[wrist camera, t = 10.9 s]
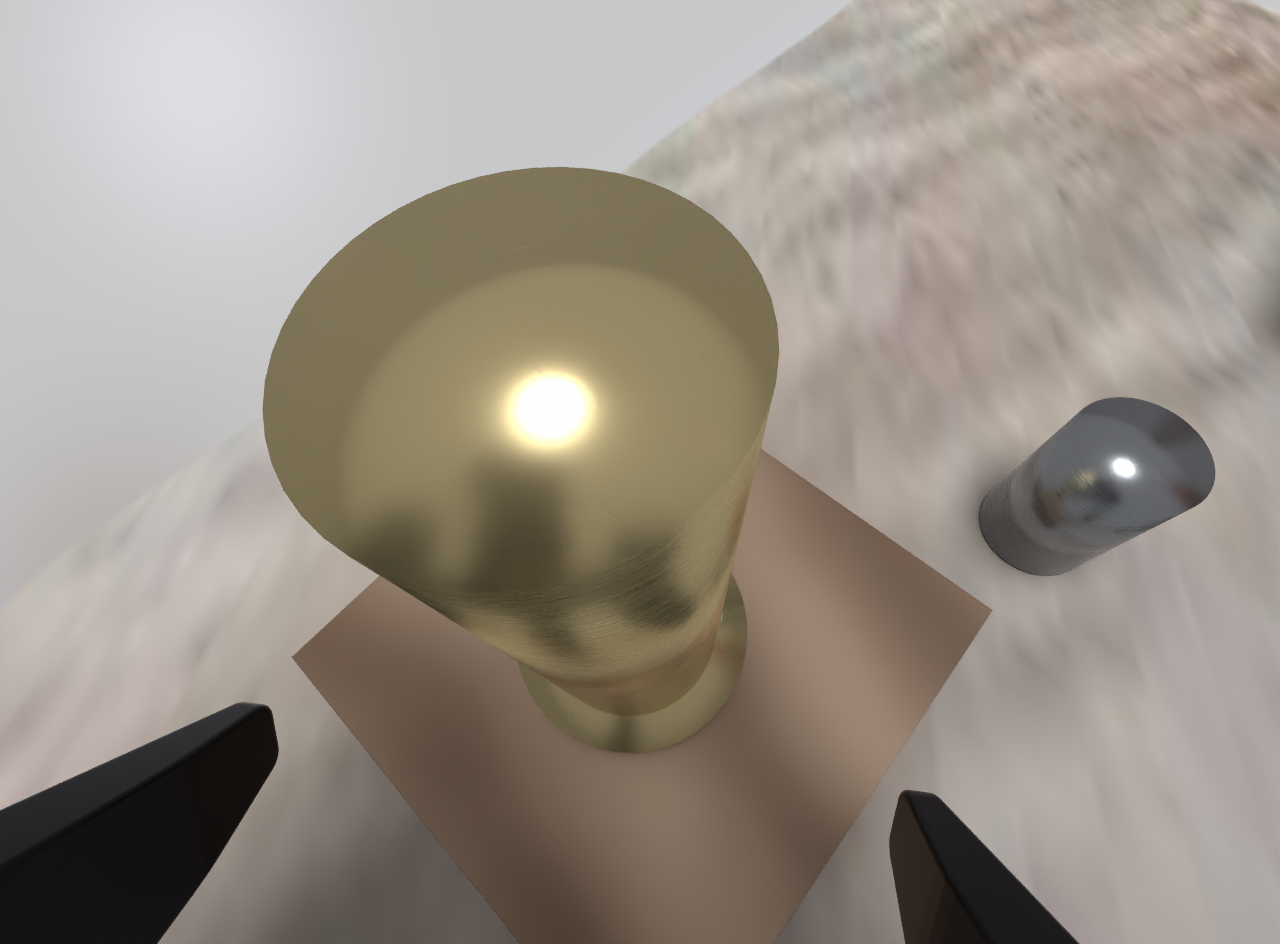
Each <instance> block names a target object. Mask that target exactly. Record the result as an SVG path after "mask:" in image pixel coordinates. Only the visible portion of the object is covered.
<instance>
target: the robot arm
mask: <svg viewBox="0 0 1280 944" xmlns="http://www.w3.org/2000/svg"><path fill="white" fill-rule="evenodd" d="M278 752H279V748H278V741H277V736H276V731H275V725H274V720H273V715H272V711H271V710H270V708H269V707H268V706H266V705H263V704H255V703H248V702H240V703H237V704H234V705H232V706H230V707H227V708H225V709H223V710H221V711H219V712H216V713H214V714H212V715H210V716H208V717H205V718H203V719H201V720H199V721H196V722H194V723H192V724H190V725H188V726H185V727H183V728H181V729H179V730H177V731H174V732H172V733H170V734H168V735H166V736H163V737H161V738H159V739H157V740H154V741H152V742H150V743H148V744H146V745H143V746H141V747H139V748H137V749H135V750H132V751H130V752H128V753H126V754H124V755H121V756H119V757H117V758H115V759H112V760H110V761H108V762H106V763H104V764H101V765H99V766H97V767H95V768H93V769H90V770H88V771H86V772H84V773H82V774H79V775H77V776H75V777H73V778H71V779H68V780H66V781H64V782H62V783H59V784H57V785H55V786H53V787H51V788H48V789H46V790H44V791H42V792H40V793H37V794H35V795H33V796H31V797H29V798H26V799H24V800H22V801H20V802H17V803H15V804H13V805H11V806H9V807H6V808H4V809H2V810H0V944H157V943H158V942H159V941H160V939H161V938H162V937H163V935H164V934H165V932H166V931H167V930H168V928H169V927H170V926H171V924H172V923H173V922H174V920H175V919H176V917H177V916H178V915H179V913H180V912H181V911H182V909H183V908H184V906H185V905H186V904H187V902H188V901H189V900H190V898H191V897H192V896H193V894H194V893H195V891H196V890H197V889H198V887H199V886H200V884H201V883H202V881H203V880H204V879H205V877H206V876H207V874H208V873H209V871H210V870H211V868H212V867H213V865H214V863H215V862H216V860H217V859H218V857H219V856H220V854H221V853H222V851H223V849H224V848H225V846H226V844H227V843H228V841H229V840H230V838H231V836H232V835H233V833H234V831H235V830H236V828H237V826H238V825H239V823H240V822H241V820H242V818H243V817H244V815H245V813H246V812H247V810H248V809H249V807H250V805H251V804H252V802H253V800H254V799H255V797H256V796H257V794H258V792H259V791H260V789H261V787H262V786H263V784H264V783H265V781H266V779H267V778H268V776H269V774H270V773H271V771H272V770H273V768H274V766H275V763H276V761H277V757H278ZM889 848H890V858H891V864H892V869H893V875H894V881H895V887H896V892H897V898H898V904H899V910H900V915H901V921H902V927H903V933H904V938H905V944H1079V943H1078V942H1077V941H1076V939H1075V938H1074V937H1073V936H1072V935H1071V934H1070V933H1069V932H1068V931H1067V930H1066V929H1065V928H1064V927H1063V926H1062V925H1061V924H1060V923H1059V922H1058V921H1057V920H1056V919H1055V918H1054V917H1053V916H1052V915H1051V913H1050V912H1049V911H1048V910H1047V909H1046V908H1045V907H1044V906H1043V905H1042V904H1041V903H1040V902H1039V901H1038V900H1037V899H1036V898H1035V897H1034V896H1033V895H1032V894H1031V893H1030V892H1029V891H1028V890H1027V888H1026V887H1025V886H1024V885H1023V884H1022V883H1021V882H1020V881H1019V880H1018V879H1017V878H1016V877H1015V876H1014V875H1013V874H1012V873H1011V872H1010V871H1009V870H1008V869H1007V868H1006V867H1005V866H1004V865H1003V863H1002V862H1001V861H1000V860H999V859H998V858H997V857H996V856H995V855H994V854H993V853H992V852H991V851H990V850H989V849H988V848H987V847H986V846H985V845H984V844H983V843H982V842H981V841H980V840H979V839H978V837H977V836H976V835H975V834H974V833H973V832H972V831H971V830H970V829H969V828H968V827H967V826H966V825H965V824H964V823H963V822H962V821H961V820H960V819H959V818H958V817H957V816H956V815H955V814H954V812H953V811H952V810H951V809H950V808H949V807H948V806H947V805H946V804H945V803H944V802H943V801H942V800H941V799H940V798H939V797H937V796H936V795H935V794H932V793H927V792H919V791H912V790H905V791H903V792H902V793H901V794H900V796H899V799H898V803H897V807H896V812H895V816H894V820H893V825H892V829H891V833H890V841H889Z"/></svg>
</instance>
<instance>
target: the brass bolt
mask: <svg viewBox="0 0 1280 944" xmlns="http://www.w3.org/2000/svg"><path fill="white" fill-rule="evenodd" d="M778 358H779V343H778V328H777V321H776V317H775V313H774V309H773V304H772V300H771V297H770V294H769V292H768V290H767V287H766V285H765V283H764V280H763V278H762V275H761V273H760V272H759V270H758V268H757V267H756V265H755V264H754V262H753V260H752V259H751V257H750V256H749V254H748V252H747V251H746V250H745V249H744V248H743V246H742V245H741V244H740V243H739V242H738V240H737V239H736V238H735V237H734V236H733V235H732V233H731V232H730V231H728V230H727V229H726V228H725V227H724V226H723V225H722V224H721V223H719V222H718V221H717V220H716V219H715V218H714V217H713V216H712V215H710V214H709V213H707V212H706V211H704V210H703V209H701V208H700V207H698V206H697V205H695V204H694V203H692V202H691V201H689V200H687V199H685V198H683V197H681V196H680V195H678V194H676V193H674V192H672V191H670V190H668V189H665V188H663V187H660V186H658V185H655V184H652V183H650V182H647V181H644V180H641V179H638V178H634V177H630V176H626V175H622V174H618V173H613V172H607V171H600V170H594V169H585V168H569V167H551V168H550V167H548V168H530V169H521V170H512V171H505V172H500V173H495V174H491V175H486V176H481V177H477V178H473V179H470V180H467V181H463V182H460V183H457V184H453V185H450V186H448V187H445V188H443V189H440V190H438V191H435V192H432V193H430V194H427V195H425V196H423V197H421V198H419V199H417V200H415V201H413V202H411V203H409V204H407V205H405V206H403V207H401V208H399V209H397V210H396V211H394V212H392V213H391V214H389V215H387V216H386V217H384V218H382V219H381V220H379V221H377V222H376V223H375V224H373V225H372V226H370V227H369V228H368V229H366V230H365V231H364V232H362V233H361V234H360V235H358V236H357V237H355V238H354V239H353V240H352V241H350V242H349V243H348V244H347V245H346V246H345V247H344V248H343V249H342V250H340V251H339V252H338V253H337V254H336V255H335V256H334V257H333V258H332V259H331V260H330V261H329V262H328V263H327V264H326V265H325V266H324V267H323V269H322V270H321V271H320V272H319V273H318V274H317V275H316V276H315V277H314V279H313V280H312V281H311V282H310V284H309V285H308V286H307V288H306V289H305V291H304V292H303V293H302V295H301V296H300V298H299V299H298V300H297V302H296V303H295V305H294V307H293V309H292V310H291V313H290V314H289V316H288V318H287V319H286V321H285V323H284V325H283V327H282V329H281V331H280V334H279V336H278V339H277V341H276V344H275V346H274V349H273V351H272V355H271V358H270V362H269V366H268V371H267V375H266V379H265V387H264V399H263V419H264V432H265V439H266V443H267V447H268V451H269V455H270V459H271V463H272V465H273V468H274V470H275V472H276V474H277V476H278V479H279V481H280V483H281V485H282V488H283V490H284V491H285V493H286V494H287V496H288V497H289V499H290V500H291V502H292V503H293V504H294V506H295V507H296V509H297V510H298V512H299V513H300V515H301V516H302V517H303V518H304V519H305V520H306V521H307V522H308V523H309V524H310V525H311V526H312V527H313V528H314V529H315V530H316V531H317V532H318V533H319V534H320V535H321V536H322V537H323V538H324V539H326V540H327V541H329V542H330V543H331V544H333V545H334V546H335V547H337V548H338V549H340V550H341V551H342V552H344V553H345V554H347V555H348V556H349V557H351V558H352V559H354V560H356V561H357V562H359V563H360V564H362V565H364V566H365V567H367V568H368V569H370V570H372V571H373V572H375V573H376V574H378V575H380V576H381V577H383V578H384V579H386V580H388V581H389V582H391V583H392V584H394V585H396V586H397V587H399V588H400V589H402V590H404V591H405V592H407V593H408V594H410V595H412V596H413V597H415V598H417V599H418V600H420V601H421V602H423V603H425V604H426V605H428V606H429V607H431V608H433V609H434V610H436V611H437V612H439V613H441V614H442V615H444V616H445V617H447V618H449V619H450V620H452V621H453V622H455V623H457V624H458V625H460V626H461V627H463V628H465V629H466V630H468V631H469V632H471V633H473V634H474V635H476V636H477V637H479V638H481V639H482V640H484V641H485V642H487V643H489V644H490V645H492V646H493V647H495V648H497V649H498V650H500V651H501V652H503V653H505V654H506V655H508V656H509V657H511V658H513V659H514V660H516V661H517V662H518V664H519V668H520V672H521V675H522V678H523V680H524V682H525V685H526V687H527V690H528V691H529V693H530V695H531V697H532V698H533V700H534V702H535V703H536V705H537V706H538V707H539V708H540V710H541V711H542V712H543V714H544V715H545V716H546V717H547V718H548V719H549V720H550V721H551V722H552V723H553V724H554V725H555V726H557V727H558V728H559V729H561V730H562V731H563V732H565V733H566V734H567V735H569V736H571V737H573V738H574V739H576V740H578V741H580V742H582V743H584V744H587V745H590V746H592V747H595V748H598V749H602V750H607V751H612V752H617V753H626V754H641V753H652V752H656V751H660V750H664V749H667V748H670V747H672V746H675V745H677V744H680V743H682V742H683V741H685V740H687V739H689V738H690V737H692V736H694V735H695V734H696V733H697V732H699V731H700V730H701V729H703V728H704V727H705V726H706V725H707V724H708V723H709V722H710V721H711V720H712V719H713V718H714V717H715V716H716V715H717V713H718V712H719V711H720V709H721V708H722V706H723V705H724V704H725V702H726V701H727V699H728V697H729V696H730V694H731V692H732V690H733V688H734V686H735V685H736V683H737V680H738V677H739V675H740V672H741V670H742V666H743V662H744V658H745V654H746V646H747V618H746V612H745V606H744V602H743V599H742V596H741V592H740V590H739V587H738V585H737V583H736V581H735V578H734V576H733V575H732V573H731V571H732V567H733V563H734V558H735V554H736V550H737V546H738V541H739V537H740V533H741V529H742V524H743V520H744V516H745V512H746V507H747V503H748V499H749V495H750V490H751V486H752V482H753V478H754V473H755V469H756V465H757V461H758V456H759V452H760V448H761V444H762V439H763V435H764V431H765V427H766V422H767V418H768V414H769V410H770V405H771V401H772V397H773V393H774V388H775V384H776V378H777V368H778Z"/></svg>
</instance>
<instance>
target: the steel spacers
mask: <svg viewBox="0 0 1280 944" xmlns="http://www.w3.org/2000/svg"><path fill="white" fill-rule="evenodd" d="M1214 480H1215V466H1214V461H1213V458H1212V455H1211V453H1210V451H1209V448H1208V447H1207V445H1206V443H1205V442H1204V440H1203V439H1202V438H1201V436H1200V435H1199V434H1198V433H1197V432H1196V431H1195V430H1194V429H1193V428H1192V427H1191V426H1190V425H1189V424H1188V423H1187V422H1186V421H1184V420H1183V419H1182V418H1180V417H1179V416H1177V415H1176V414H1174V413H1172V412H1171V411H1169V410H1167V409H1165V408H1163V407H1161V406H1159V405H1156V404H1153V403H1150V402H1147V401H1143V400H1139V399H1134V398H1124V397H1117V398H1107V399H1103V400H1099V401H1096V402H1094V403H1091V404H1090V405H1088V406H1086V407H1085V408H1083V409H1082V410H1081V411H1080V412H1079V413H1078V414H1077V415H1075V416H1074V417H1073V418H1072V419H1071V420H1070V421H1069V422H1068V423H1066V424H1065V425H1064V426H1063V427H1062V428H1061V429H1060V430H1059V431H1058V432H1056V433H1055V434H1054V435H1053V436H1052V437H1051V438H1050V439H1049V440H1047V441H1046V442H1045V443H1044V444H1043V445H1042V446H1041V447H1040V448H1039V449H1037V450H1036V451H1035V452H1034V453H1033V454H1032V455H1031V456H1030V457H1028V458H1027V459H1026V460H1025V461H1024V462H1023V463H1022V464H1021V465H1020V466H1018V467H1017V468H1016V469H1015V470H1014V471H1013V472H1012V473H1011V474H1009V475H1008V476H1007V477H1006V478H1005V479H1004V480H1003V481H1002V482H1000V483H999V484H998V485H997V486H996V487H995V488H994V489H993V490H992V491H990V492H989V493H988V495H987V496H986V497H985V498H984V500H983V502H982V505H981V507H980V512H979V520H980V527H981V530H982V533H983V535H984V537H985V539H986V541H987V543H988V544H989V546H990V547H991V548H992V550H993V551H994V552H995V553H996V554H997V555H998V556H999V557H1000V558H1001V559H1003V560H1004V561H1005V562H1007V563H1008V564H1010V565H1012V566H1013V567H1015V568H1017V569H1019V570H1021V571H1024V572H1027V573H1031V574H1035V575H1043V576H1051V575H1058V574H1062V573H1065V572H1067V571H1069V570H1071V569H1073V568H1075V567H1077V566H1079V565H1081V564H1083V563H1085V562H1087V561H1089V560H1091V559H1093V558H1095V557H1097V556H1099V555H1101V554H1103V553H1105V552H1106V551H1108V550H1110V549H1112V548H1114V547H1116V546H1118V545H1120V544H1122V543H1124V542H1126V541H1128V540H1130V539H1132V538H1134V537H1136V536H1138V535H1140V534H1142V533H1144V532H1146V531H1148V530H1150V529H1152V528H1154V527H1156V526H1158V525H1160V524H1162V523H1163V522H1165V521H1167V520H1169V519H1171V518H1173V517H1175V516H1177V515H1179V514H1181V513H1183V512H1185V511H1187V510H1189V509H1191V508H1193V507H1195V506H1196V505H1198V504H1199V503H1201V502H1202V501H1203V500H1204V499H1205V498H1206V497H1207V496H1208V494H1209V493H1210V492H1211V489H1212V487H1213V485H1214Z"/></svg>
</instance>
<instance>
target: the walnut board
mask: <svg viewBox="0 0 1280 944" xmlns="http://www.w3.org/2000/svg"><path fill="white" fill-rule="evenodd" d="M731 573H732V575H733V576H734V578H735V581H736V583H737V585H738V587H739V590H740V592H741V596H742V599H743V602H744V606H745V612H746V618H747V646H746V654H745V658H744V662H743V666H742V670H741V672H740V675H739V677H738V680H737V683H736V685H735V686H734V688H733V690H732V692H731V694H730V696H729V697H728V699H727V701H726V702H725V704H724V705H723V706H722V708H721V709H720V711H719V712H718V713H717V715H716V716H715V717H714V718H713V719H712V720H711V721H710V722H709V723H708V724H707V725H706V726H705V727H704V728H703V729H701V730H700V731H699V732H697V733H696V734H695V735H694V736H692V737H690V738H689V739H687V740H685V741H683V742H682V743H680V744H677V745H675V746H672V747H670V748H667V749H664V750H660V751H656V752H652V753H641V754H626V753H617V752H612V751H607V750H602V749H598V748H595V747H592V746H590V745H587V744H584V743H582V742H580V741H578V740H576V739H574V738H573V737H571V736H569V735H567V734H566V733H565V732H563V731H562V730H561V729H559V728H558V727H557V726H555V725H554V724H553V723H552V722H551V721H550V720H549V719H548V718H547V717H546V716H545V715H544V714H543V712H542V711H541V710H540V708H539V707H538V706H537V705H536V703H535V702H534V700H533V698H532V697H531V695H530V693H529V691H528V690H527V687H526V685H525V682H524V680H523V678H522V675H521V672H520V668H519V664H518V662H517V661H516V660H514V659H513V658H511V657H509V656H508V655H506V654H505V653H503V652H501V651H500V650H498V649H497V648H495V647H493V646H492V645H490V644H489V643H487V642H485V641H484V640H482V639H481V638H479V637H477V636H476V635H474V634H473V633H471V632H469V631H468V630H466V629H465V628H463V627H461V626H460V625H458V624H457V623H455V622H453V621H452V620H450V619H449V618H447V617H445V616H444V615H442V614H441V613H439V612H437V611H436V610H434V609H433V608H431V607H429V606H428V605H426V604H425V603H423V602H421V601H420V600H418V599H417V598H415V597H413V596H412V595H410V594H408V593H407V592H405V591H404V590H402V589H400V588H399V587H397V586H396V585H394V584H392V583H391V582H389V581H388V580H386V579H384V578H383V577H381V576H379V577H378V578H377V579H376V580H375V581H374V582H372V583H371V584H370V585H369V586H368V587H367V588H366V589H365V590H364V591H363V592H362V593H361V594H359V595H358V596H357V597H356V598H355V599H354V600H353V601H352V602H351V603H350V604H349V605H348V606H346V607H345V608H344V609H343V610H342V611H341V612H340V613H339V614H338V615H337V616H336V617H335V618H334V619H332V620H331V621H330V622H329V623H328V624H327V625H326V626H325V627H324V628H323V629H322V630H321V631H319V632H318V633H317V634H316V635H315V636H314V637H313V638H312V639H311V640H310V641H309V642H308V643H307V644H305V645H304V646H303V647H302V648H301V649H300V650H299V651H298V652H297V653H296V654H295V655H294V656H292V658H293V659H294V661H295V662H296V663H297V664H298V666H299V667H300V668H301V669H302V671H303V672H304V673H305V674H306V676H307V677H308V678H309V679H310V681H311V682H312V683H313V685H314V686H315V687H316V688H317V690H318V691H319V692H320V693H321V695H322V696H323V697H324V698H325V700H326V701H327V702H328V703H329V705H330V706H331V707H332V708H333V710H334V711H335V712H336V713H337V715H338V716H339V717H340V718H341V720H342V721H343V722H344V723H345V725H346V726H347V727H348V728H349V730H350V731H351V732H352V733H353V735H354V736H355V737H356V738H357V740H358V741H359V742H360V743H361V745H362V746H363V747H364V748H365V750H366V751H367V752H368V753H369V755H370V756H371V757H372V759H373V760H374V761H375V762H376V764H377V765H378V766H379V767H380V769H381V770H382V771H383V772H384V774H385V775H386V776H387V777H388V779H389V780H390V781H391V782H392V784H393V785H394V786H395V787H396V789H397V790H398V791H399V792H400V794H401V795H402V796H403V797H404V799H405V800H406V801H407V802H408V804H409V805H410V806H411V807H412V809H413V810H414V811H415V812H416V814H417V815H418V816H419V817H420V819H421V820H422V821H423V822H424V824H425V825H426V826H427V828H428V829H429V830H430V831H431V833H432V834H433V835H434V836H435V838H436V839H437V840H438V841H439V843H440V844H441V845H442V846H443V848H444V849H445V850H446V851H447V853H448V854H449V855H450V856H451V858H452V859H453V860H454V861H455V863H456V864H457V865H458V866H459V868H460V869H461V870H462V871H463V873H464V874H465V875H466V876H467V878H468V879H469V880H470V881H471V883H472V884H473V885H474V886H475V888H476V889H477V890H478V891H479V893H480V894H481V895H482V896H483V898H484V899H485V900H486V902H487V903H488V904H489V905H490V907H491V908H492V909H493V910H494V912H495V913H496V914H497V915H498V917H499V918H500V919H501V920H502V922H503V923H504V924H505V925H506V927H507V928H508V929H509V930H510V932H511V933H512V934H513V935H514V937H515V938H516V939H517V940H518V942H519V943H520V944H774V943H775V941H776V940H777V938H778V937H779V935H780V934H781V932H782V931H783V929H784V928H785V926H786V925H787V923H788V922H789V920H790V918H791V917H792V915H793V914H794V912H795V911H796V909H797V908H798V906H799V905H800V903H801V902H802V900H803V899H804V897H805V896H806V894H807V893H808V891H809V889H810V888H811V886H812V885H813V883H814V882H815V880H816V879H817V877H818V876H819V874H820V873H821V871H822V870H823V868H824V867H825V865H826V864H827V862H828V860H829V859H830V857H831V856H832V854H833V853H834V851H835V850H836V848H837V847H838V845H839V844H840V842H841V841H842V839H843V838H844V836H845V835H846V833H847V831H848V830H849V828H850V827H851V825H852V824H853V822H854V821H855V819H856V818H857V816H858V815H859V813H860V812H861V810H862V809H863V807H864V806H865V804H866V802H867V801H868V799H869V798H870V796H871V795H872V793H873V792H874V790H875V789H876V787H877V786H878V784H879V783H880V781H881V780H882V778H883V777H884V775H885V773H886V772H887V770H888V769H889V767H890V766H891V764H892V763H893V761H894V760H895V758H896V757H897V755H898V754H899V752H900V751H901V749H902V748H903V746H904V745H905V743H906V741H907V740H908V738H909V737H910V735H911V734H912V732H913V731H914V729H915V728H916V726H917V725H918V723H919V722H920V720H921V719H922V717H923V716H924V714H925V712H926V711H927V709H928V708H929V706H930V705H931V703H932V702H933V700H934V699H935V697H936V696H937V694H938V693H939V691H940V690H941V688H942V687H943V685H944V683H945V682H946V680H947V679H948V677H949V676H950V674H951V673H952V671H953V670H954V668H955V667H956V665H957V664H958V662H959V661H960V659H961V658H962V656H963V654H964V653H965V651H966V650H967V648H968V647H969V645H970V644H971V642H972V641H973V639H974V638H975V636H976V635H977V633H978V632H979V630H980V629H981V627H982V625H983V624H984V622H985V621H986V619H987V618H988V616H989V615H990V613H991V612H992V610H991V609H990V608H989V607H987V606H986V605H984V604H983V603H981V602H980V601H979V600H977V599H976V598H974V597H973V596H971V595H970V594H969V593H967V592H966V591H964V590H963V589H961V588H960V587H958V586H957V585H956V584H954V583H953V582H951V581H950V580H948V579H947V578H946V577H944V576H943V575H941V574H940V573H938V572H937V571H935V570H934V569H933V568H931V567H930V566H928V565H927V564H925V563H924V562H923V561H921V560H920V559H918V558H917V557H915V556H914V555H913V554H911V553H910V552H908V551H907V550H905V549H904V548H902V547H901V546H900V545H898V544H897V543H895V542H894V541H892V540H891V539H890V538H888V537H887V536H885V535H884V534H882V533H881V532H879V531H878V530H877V529H875V528H874V527H872V526H871V525H869V524H868V523H867V522H865V521H864V520H862V519H861V518H859V517H858V516H857V515H855V514H854V513H852V512H851V511H849V510H848V509H846V508H845V507H844V506H842V505H841V504H839V503H838V502H836V501H835V500H834V499H832V498H831V497H829V496H828V495H826V494H825V493H824V492H822V491H821V490H819V489H818V488H816V487H815V486H813V485H812V484H811V483H809V482H808V481H806V480H805V479H803V478H802V477H801V476H799V475H798V474H796V473H795V472H793V471H792V470H790V469H789V468H788V467H786V466H785V465H783V464H782V463H780V462H779V461H778V460H776V459H775V458H773V457H772V456H770V455H769V454H768V453H766V452H765V451H763V450H762V449H760V452H759V456H758V461H757V465H756V469H755V473H754V478H753V482H752V486H751V490H750V495H749V499H748V503H747V507H746V512H745V516H744V520H743V524H742V529H741V533H740V537H739V541H738V546H737V550H736V554H735V558H734V563H733V567H732V571H731Z"/></svg>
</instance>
